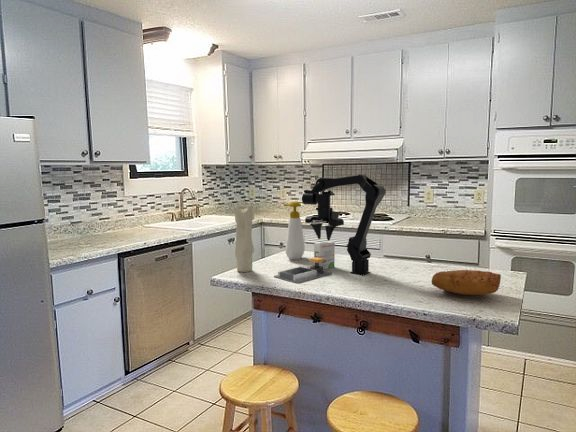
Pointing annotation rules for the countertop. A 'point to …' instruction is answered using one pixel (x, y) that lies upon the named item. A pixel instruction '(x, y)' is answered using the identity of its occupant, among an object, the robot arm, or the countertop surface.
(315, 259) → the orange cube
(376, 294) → the countertop surface
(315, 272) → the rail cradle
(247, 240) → the vase
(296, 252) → the soap bottle
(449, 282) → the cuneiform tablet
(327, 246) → the ink box
